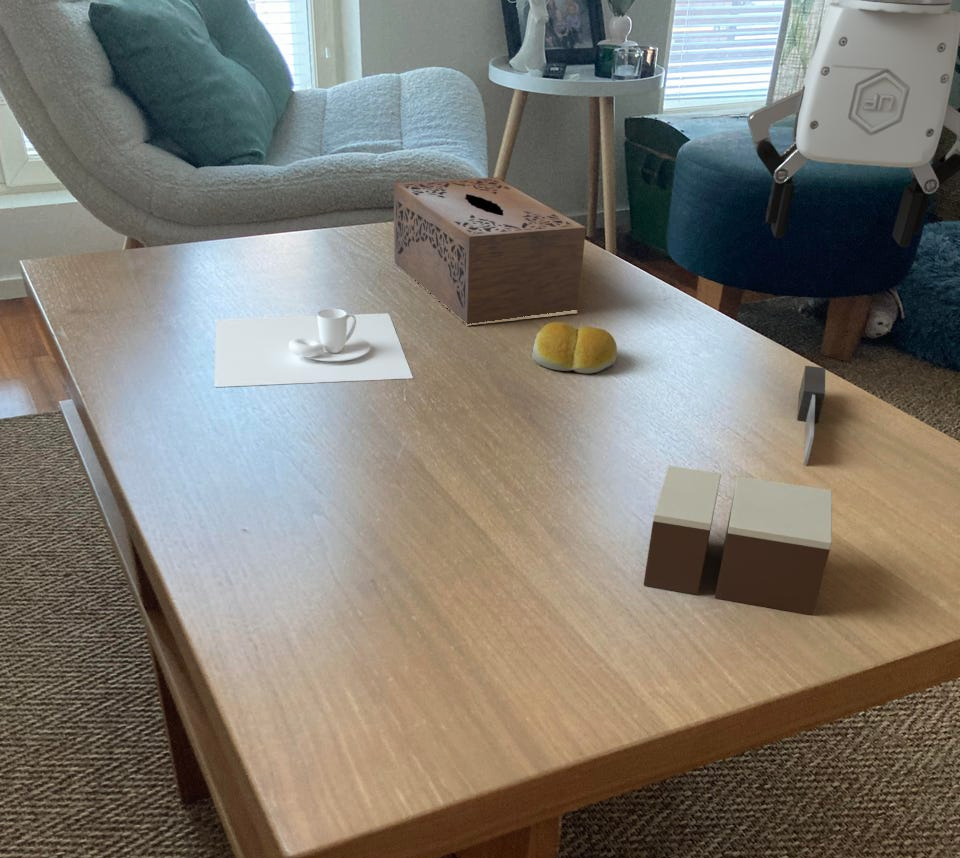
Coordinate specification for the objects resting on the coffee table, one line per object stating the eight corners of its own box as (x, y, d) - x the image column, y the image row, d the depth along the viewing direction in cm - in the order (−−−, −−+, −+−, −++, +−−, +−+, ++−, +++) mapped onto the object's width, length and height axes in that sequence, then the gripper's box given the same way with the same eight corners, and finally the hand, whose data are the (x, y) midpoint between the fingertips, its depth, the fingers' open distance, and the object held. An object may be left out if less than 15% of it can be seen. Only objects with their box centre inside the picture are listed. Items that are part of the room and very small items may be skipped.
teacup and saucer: (290, 367, 107) (287, 328, 105) (287, 340, 113) (284, 303, 111) (374, 363, 109) (373, 325, 106) (366, 337, 115) (365, 300, 112)
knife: (798, 393, 106) (805, 365, 104) (818, 396, 106) (825, 367, 104) (793, 463, 93) (801, 433, 91) (816, 467, 92) (824, 436, 90)
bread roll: (614, 378, 108) (618, 341, 105) (529, 371, 108) (531, 334, 106) (617, 350, 114) (621, 314, 112) (536, 343, 115) (539, 308, 113)
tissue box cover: (394, 263, 138) (393, 183, 132) (493, 254, 143) (496, 177, 137) (466, 326, 119) (469, 236, 113) (578, 314, 124) (585, 227, 118)
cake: (813, 559, 79) (832, 489, 76) (812, 615, 73) (832, 542, 70) (723, 544, 81) (737, 475, 77) (714, 598, 74) (728, 526, 71)
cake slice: (708, 541, 81) (721, 473, 77) (697, 595, 75) (711, 523, 71) (657, 533, 82) (668, 465, 78) (643, 585, 76) (654, 514, 72)
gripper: (778, -19, 69) (731, 242, 80) (1043, -4, 68) (961, 260, 78) (768, -27, 76) (725, 217, 86) (1010, -13, 74) (938, 233, 84)
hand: (838, 237), depth 82 cm, fingers open, 9 cm apart
